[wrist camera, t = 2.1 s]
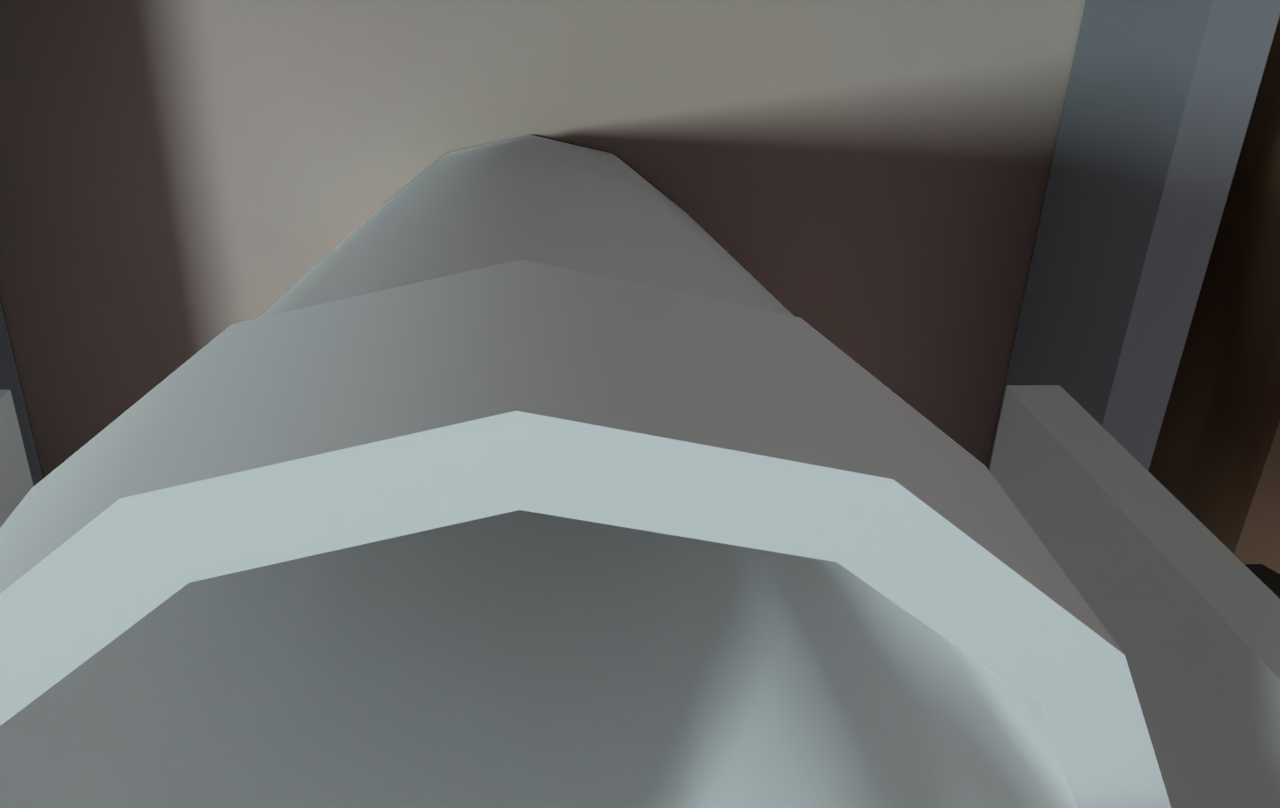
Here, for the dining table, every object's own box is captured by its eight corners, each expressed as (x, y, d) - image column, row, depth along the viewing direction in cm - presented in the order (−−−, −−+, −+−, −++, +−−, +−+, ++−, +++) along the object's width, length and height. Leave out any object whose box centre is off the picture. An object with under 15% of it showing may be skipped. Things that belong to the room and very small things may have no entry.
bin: (-208, -236, 15) (-406, -261, 12) (1184, -168, 17) (1334, -174, 14) (39, 679, 22) (-42, 815, 19) (991, 652, 24) (1060, 772, 21)
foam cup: (860, 419, 21) (1267, 1121, 9) (436, 602, 22) (326, 1435, 10) (663, -69, 17) (960, 111, 5) (149, 188, 18) (-574, 819, 6)
